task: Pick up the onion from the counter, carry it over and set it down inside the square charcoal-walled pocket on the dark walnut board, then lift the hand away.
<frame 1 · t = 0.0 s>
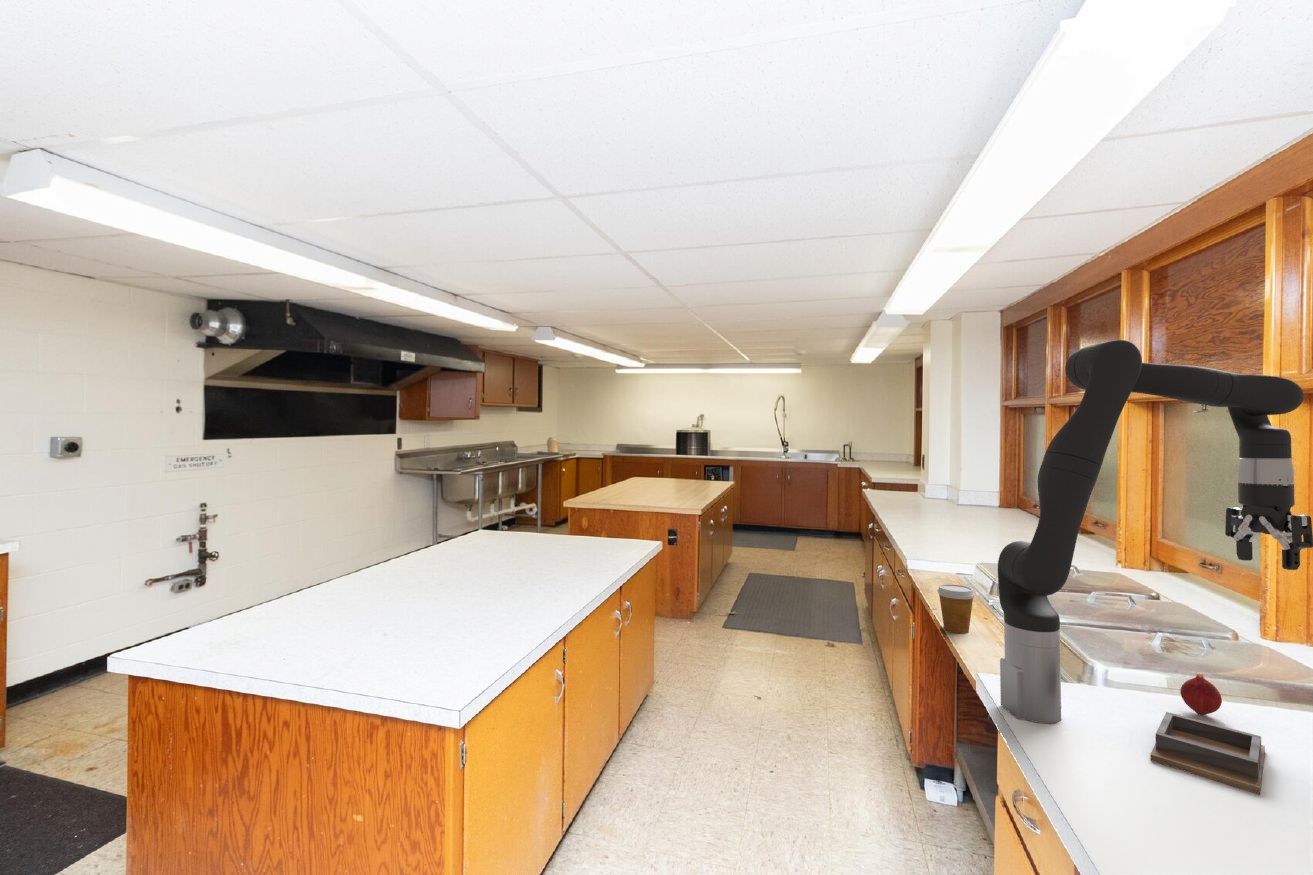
hand: (1267, 564, 111), 29 cm above the counter, tool pointing down, fingers open, 8 cm apart
onion: (1201, 716, 111), on the counter
pocket board: (1208, 755, 97), on the counter
disposable coffee cup: (956, 630, 163), on the counter
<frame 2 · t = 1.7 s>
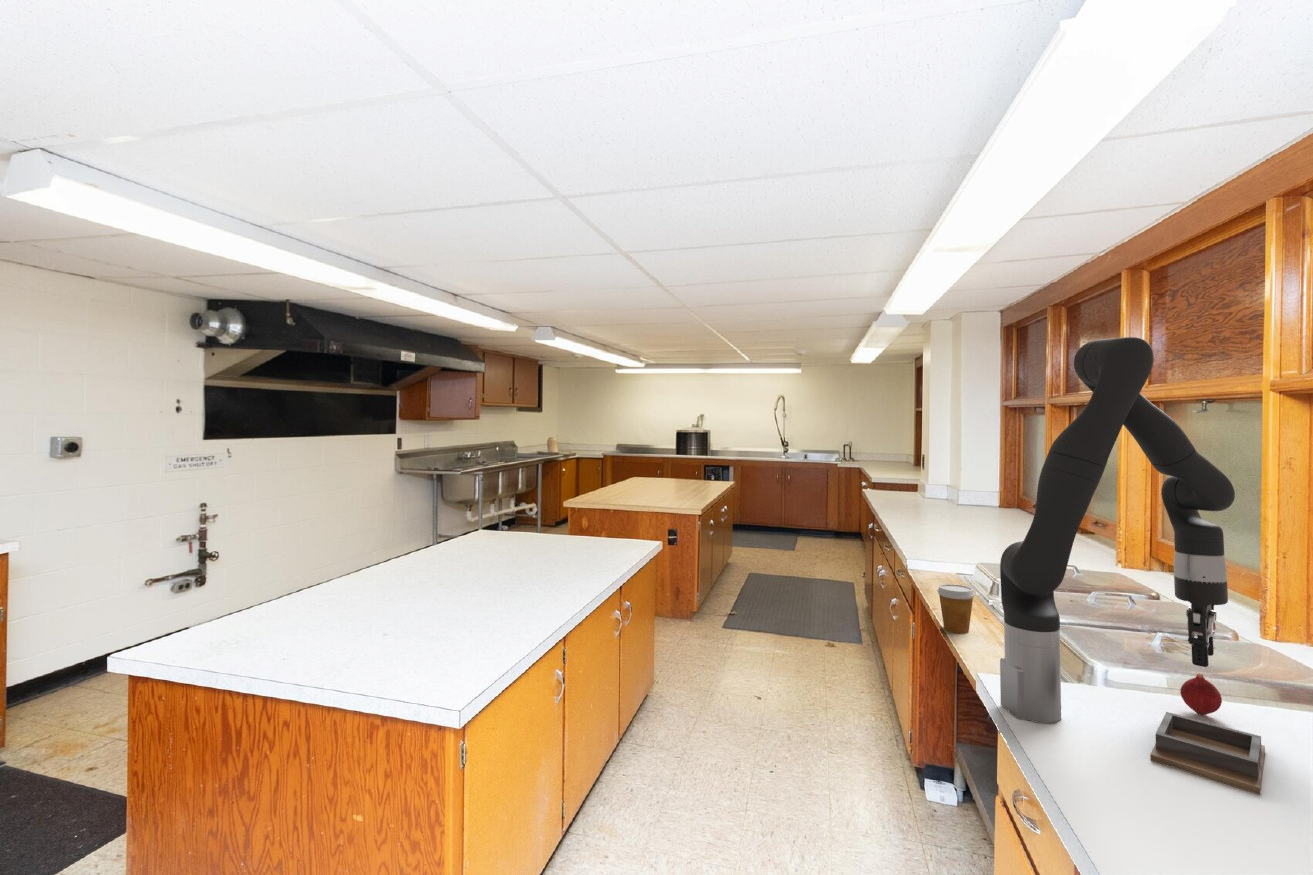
hand: (1203, 659, 111), 11 cm above the counter, tool pointing down, fingers open, 8 cm apart
nothing on the counter moved.
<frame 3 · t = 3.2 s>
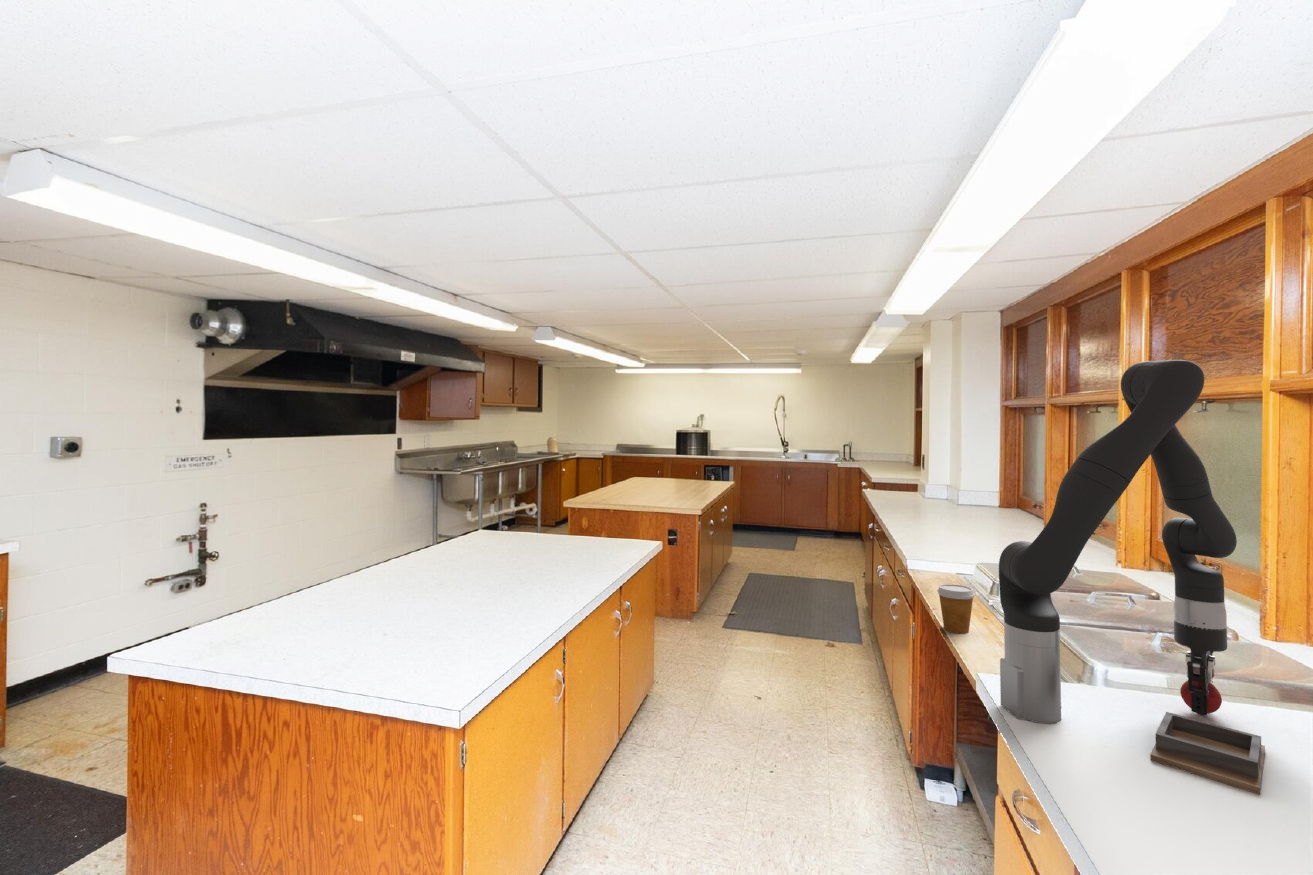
hand: (1201, 707, 111), 1 cm above the counter, tool pointing down, fingers closed on onion, 6 cm apart
onion: (1201, 716, 111), on the counter, touching gripper
everything else where it was.
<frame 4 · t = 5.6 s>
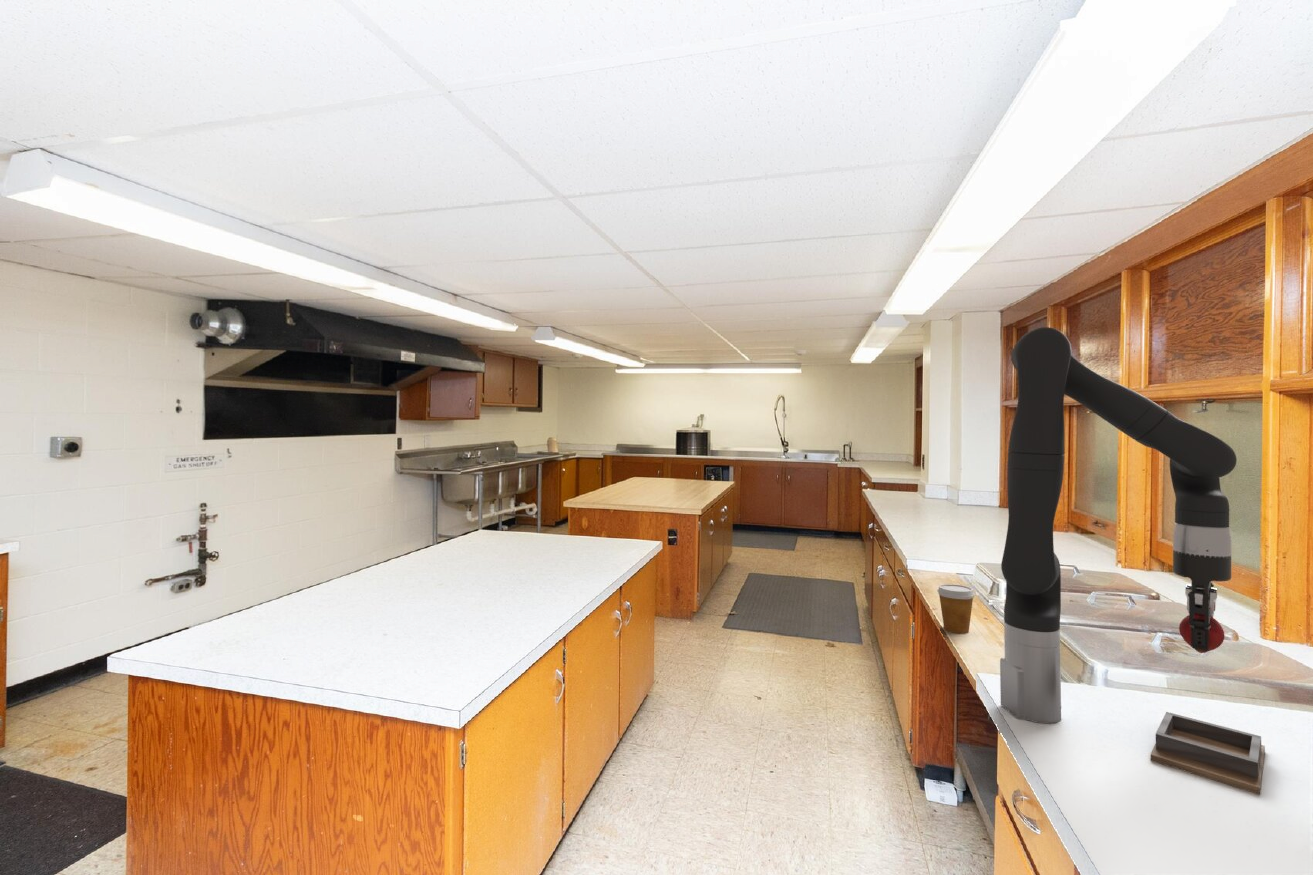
hand: (1201, 644, 101), 17 cm above the counter, tool pointing down, fingers closed on onion, 6 cm apart
onion: (1201, 654, 101), point 16 cm above the counter, touching gripper
everything else where it was.
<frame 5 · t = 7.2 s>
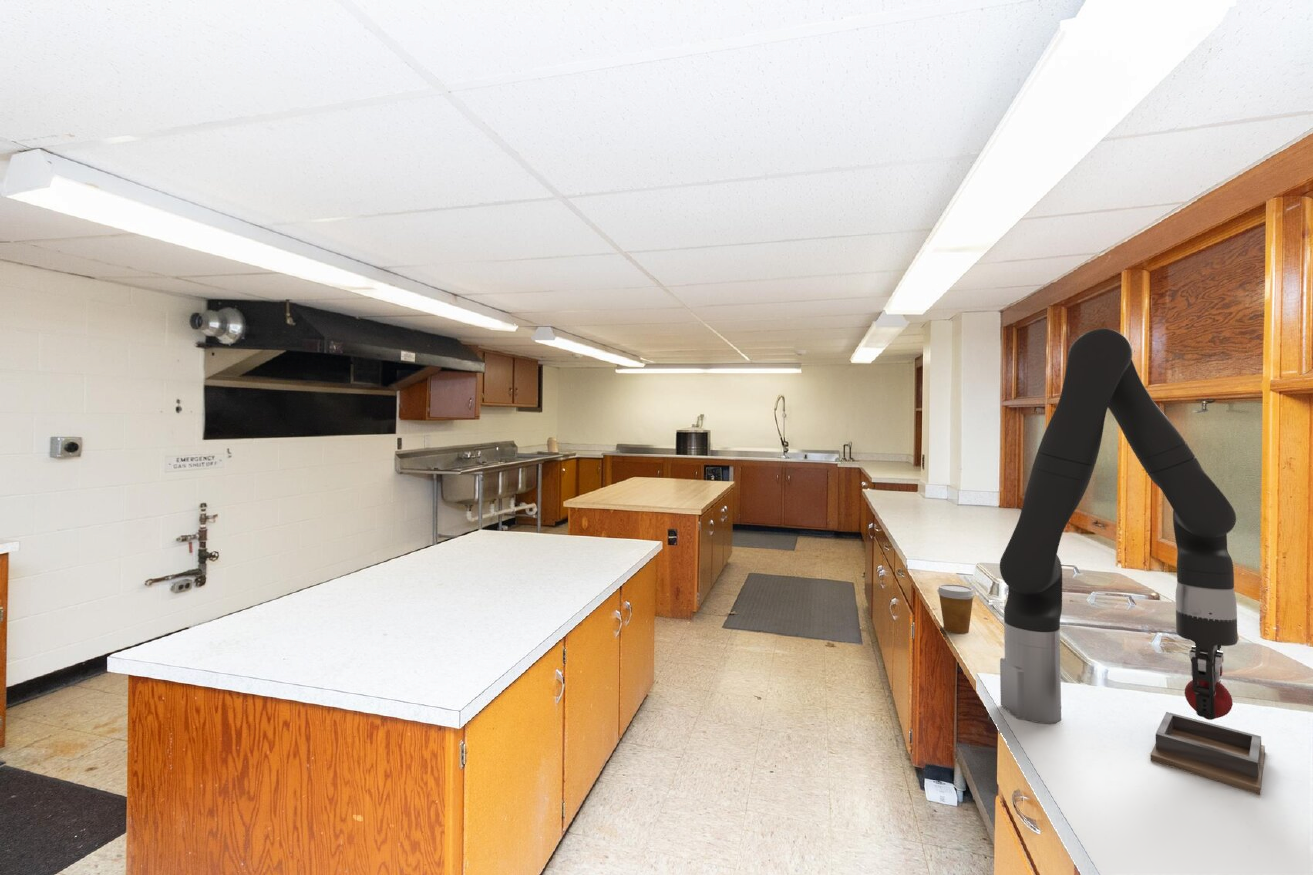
hand: (1207, 710, 97), 8 cm above the counter, tool pointing down, fingers closed on onion, 6 cm apart
onion: (1208, 720, 96), point 6 cm above the counter, touching gripper
everything else where it was.
when the fingers open (4 cm above the counter, at t = 8.4 s): onion drops 2 cm, resting on pocket board.
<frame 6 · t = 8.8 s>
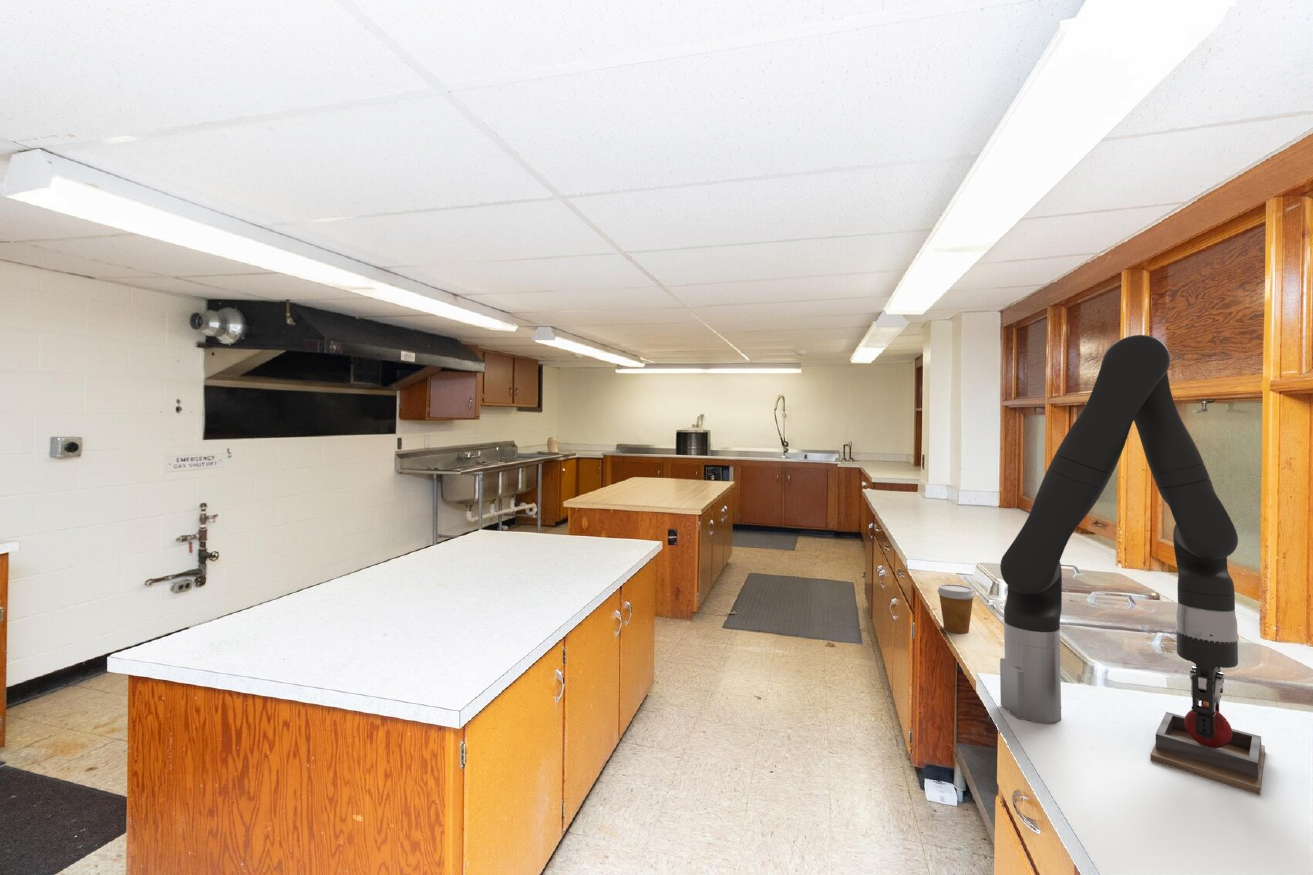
hand: (1207, 728, 97), 5 cm above the counter, tool pointing down, fingers open, 8 cm apart
onion: (1208, 750, 97), point 1 cm above the counter, touching pocket board
everything else where it was.
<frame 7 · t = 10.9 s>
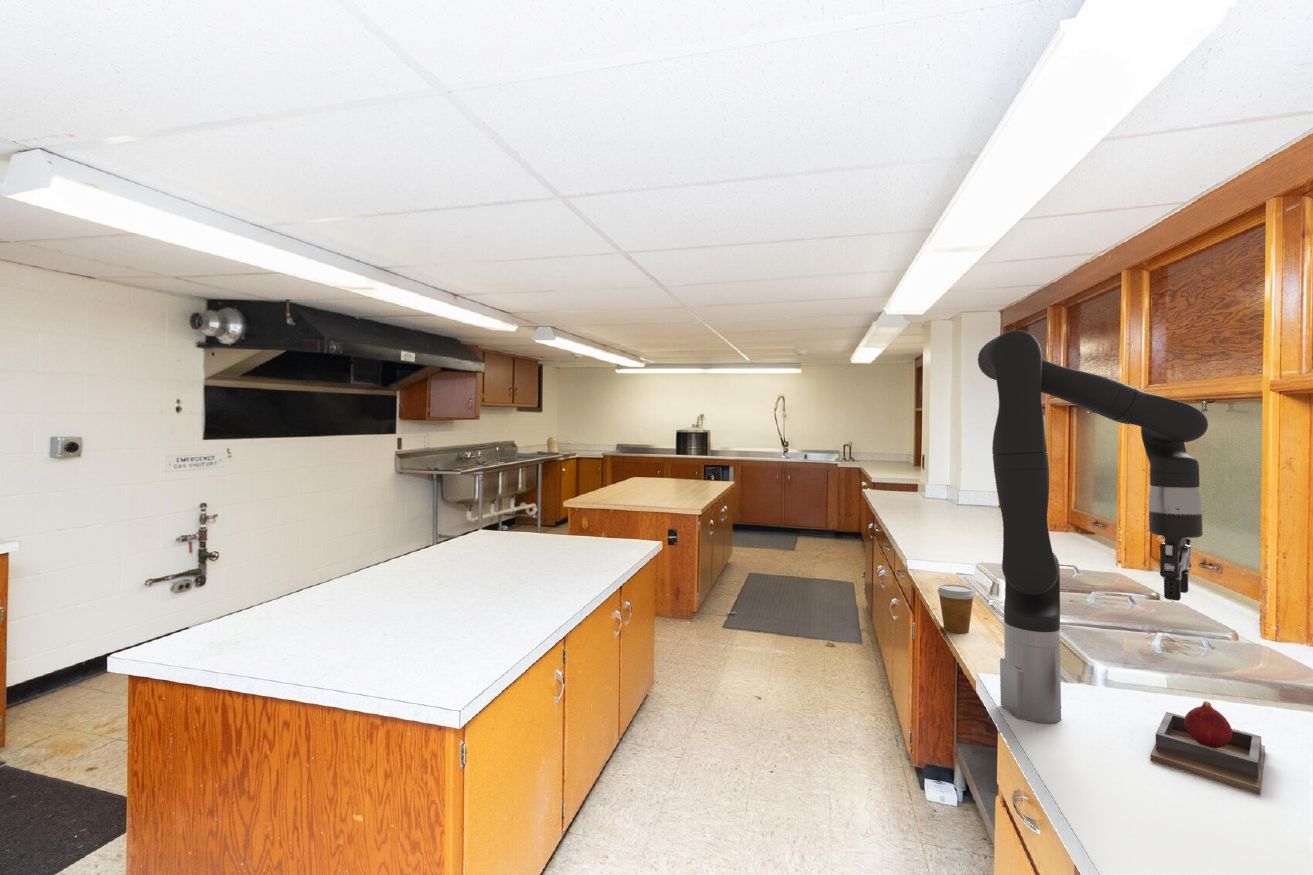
hand: (1176, 595, 108), 24 cm above the counter, tool pointing down, fingers open, 8 cm apart
nothing on the counter moved.
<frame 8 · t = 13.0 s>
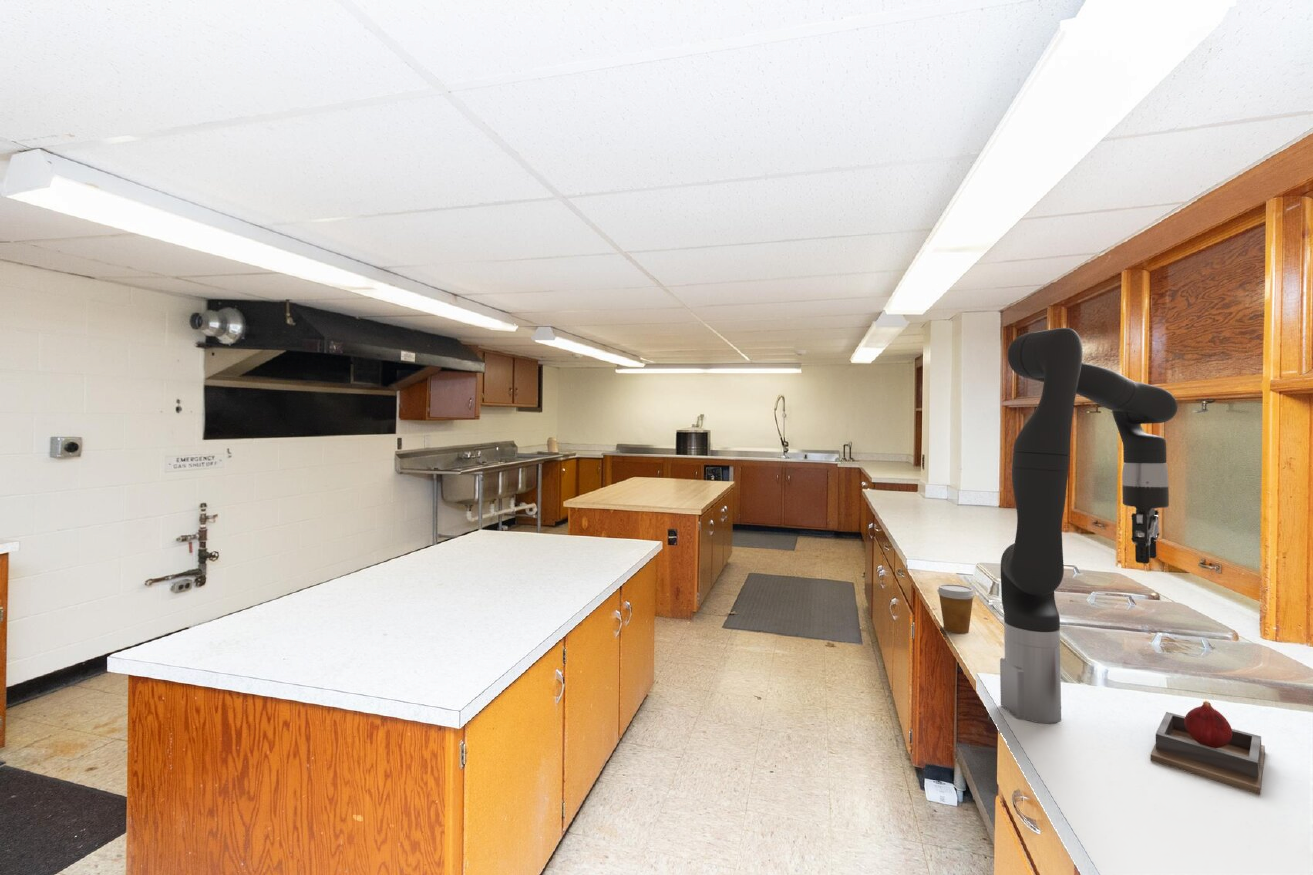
hand: (1146, 560, 122), 28 cm above the counter, tool pointing down, fingers open, 8 cm apart
nothing on the counter moved.
at the end: onion 0.1 cm off-centre on the pocket board, point 0.8 cm above the pocket board's base; the gripper is holding nothing; onion moved 19.0 cm from its start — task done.
